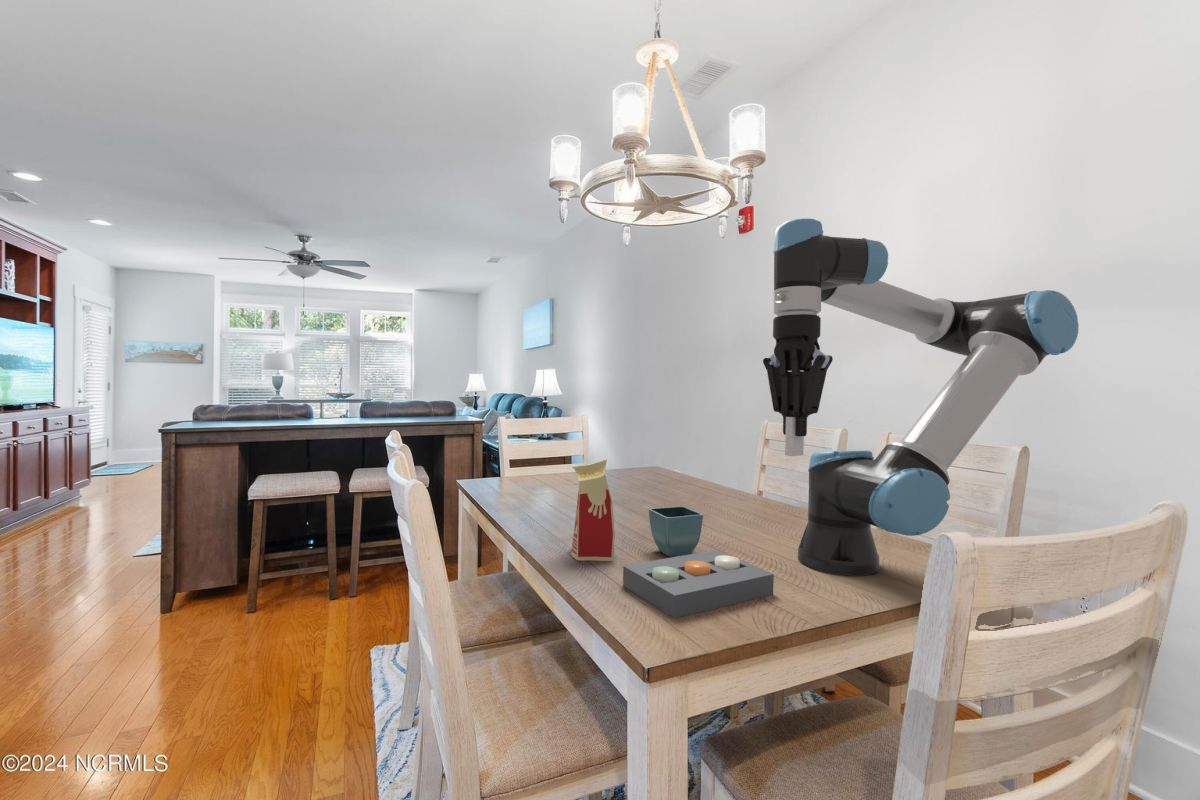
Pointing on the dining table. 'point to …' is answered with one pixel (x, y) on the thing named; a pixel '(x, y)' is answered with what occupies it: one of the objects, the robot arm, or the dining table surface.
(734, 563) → the cream button
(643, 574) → the button panel
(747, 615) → the dining table surface
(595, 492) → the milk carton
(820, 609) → the dining table surface
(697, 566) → the orange button
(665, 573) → the sage button
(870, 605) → the dining table surface
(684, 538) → the flower pot
